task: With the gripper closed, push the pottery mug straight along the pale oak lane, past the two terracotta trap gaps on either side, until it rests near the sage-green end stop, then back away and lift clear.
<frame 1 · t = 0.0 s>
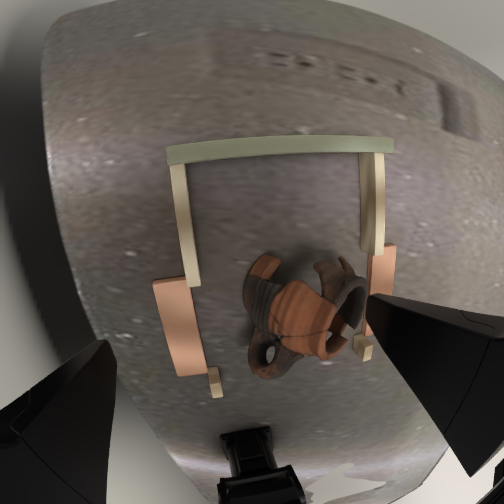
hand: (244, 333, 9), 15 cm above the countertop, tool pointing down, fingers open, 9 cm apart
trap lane: (287, 276, 25), on the countertop
pottery mug: (287, 299, 26), on the countertop
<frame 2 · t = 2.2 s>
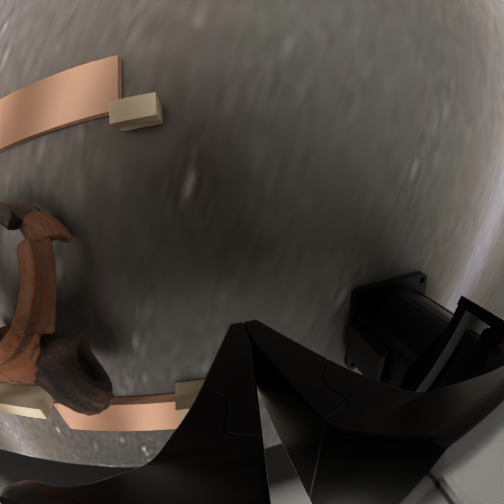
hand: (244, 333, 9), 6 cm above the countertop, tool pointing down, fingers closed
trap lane: (22, 293, 13), on the countertop
pottery mug: (47, 294, 13), on the countertop
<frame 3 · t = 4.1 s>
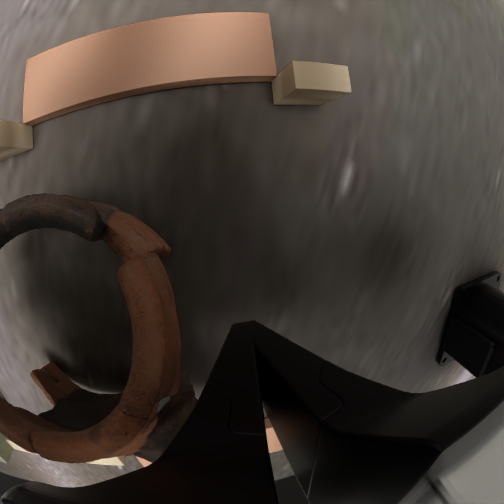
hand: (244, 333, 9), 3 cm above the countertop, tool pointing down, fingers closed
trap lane: (96, 313, 11), on the countertop
pottery mug: (115, 323, 11), on the countertop, touching gripper
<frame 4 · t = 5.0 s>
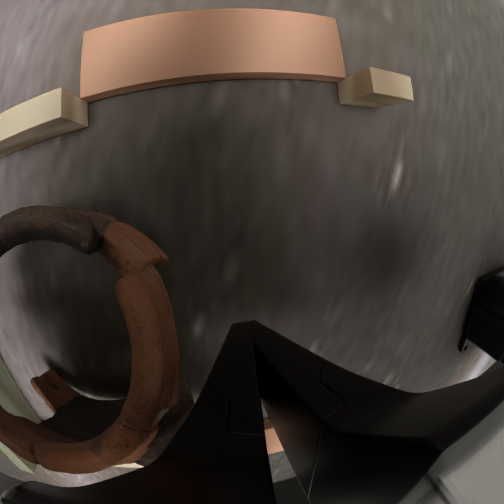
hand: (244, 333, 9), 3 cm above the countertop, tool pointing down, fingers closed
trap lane: (154, 306, 11), on the countertop
pottery mug: (114, 331, 11), on the countertop, touching gripper
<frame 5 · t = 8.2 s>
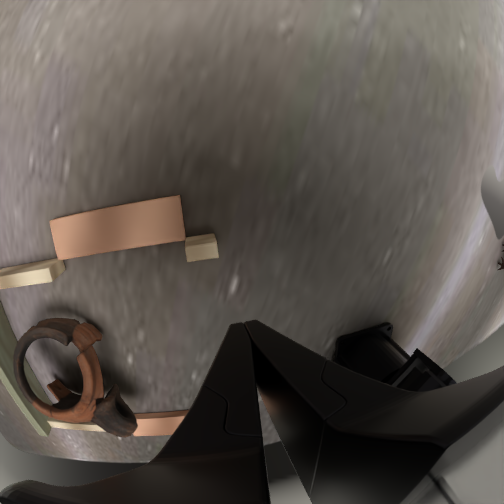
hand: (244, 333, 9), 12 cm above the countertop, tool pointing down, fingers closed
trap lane: (108, 349, 21), on the countertop
pottery mug: (86, 362, 21), on the countertop
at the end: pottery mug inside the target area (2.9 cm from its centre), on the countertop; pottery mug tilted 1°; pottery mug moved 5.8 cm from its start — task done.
